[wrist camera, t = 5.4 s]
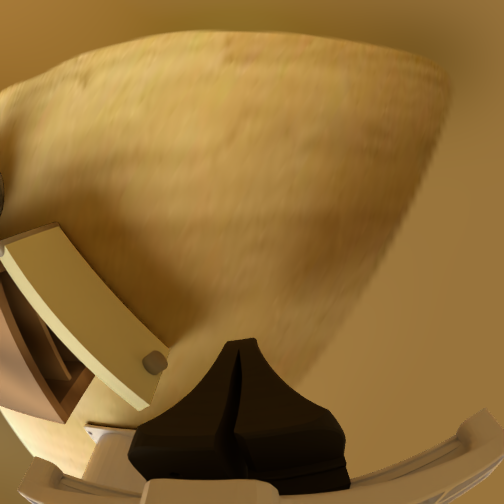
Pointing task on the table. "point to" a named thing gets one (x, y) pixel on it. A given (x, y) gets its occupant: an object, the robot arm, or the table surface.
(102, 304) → the door
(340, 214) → the table surface
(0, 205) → the dark tiered stone ornament
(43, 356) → the cabinet
